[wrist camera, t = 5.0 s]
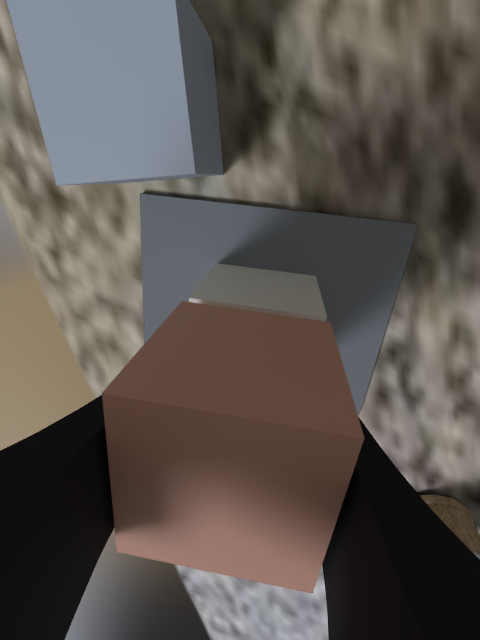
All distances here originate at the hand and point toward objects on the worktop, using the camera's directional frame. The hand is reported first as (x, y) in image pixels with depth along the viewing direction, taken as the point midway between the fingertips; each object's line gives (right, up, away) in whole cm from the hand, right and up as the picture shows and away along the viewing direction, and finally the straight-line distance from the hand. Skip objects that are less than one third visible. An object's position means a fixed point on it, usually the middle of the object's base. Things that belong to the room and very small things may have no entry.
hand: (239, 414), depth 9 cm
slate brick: (-3, +11, +4) cm, 12 cm away
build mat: (+1, +3, +7) cm, 8 cm away
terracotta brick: (0, +1, +2) cm, 2 cm away
